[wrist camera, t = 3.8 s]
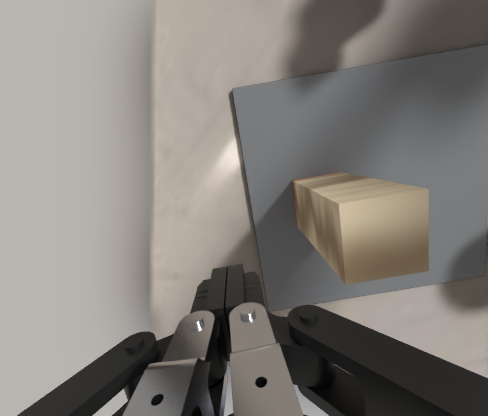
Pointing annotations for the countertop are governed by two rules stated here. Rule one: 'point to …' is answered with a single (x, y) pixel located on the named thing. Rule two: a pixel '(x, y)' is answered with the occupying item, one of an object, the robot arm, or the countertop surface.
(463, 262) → the rubber mat
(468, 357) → the countertop surface
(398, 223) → the maple block
